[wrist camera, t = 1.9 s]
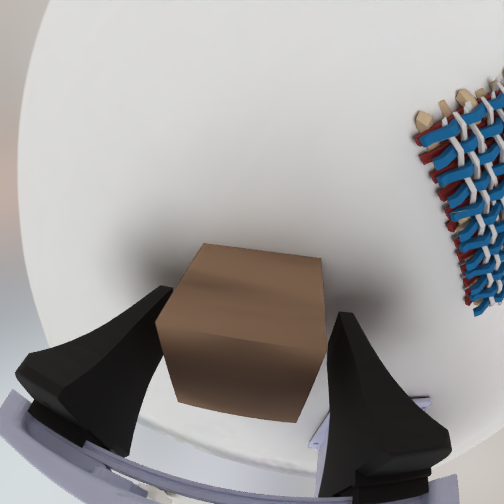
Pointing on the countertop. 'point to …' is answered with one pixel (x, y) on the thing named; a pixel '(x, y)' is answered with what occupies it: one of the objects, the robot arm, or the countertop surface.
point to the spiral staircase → (156, 494)
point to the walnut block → (245, 332)
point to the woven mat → (472, 186)
